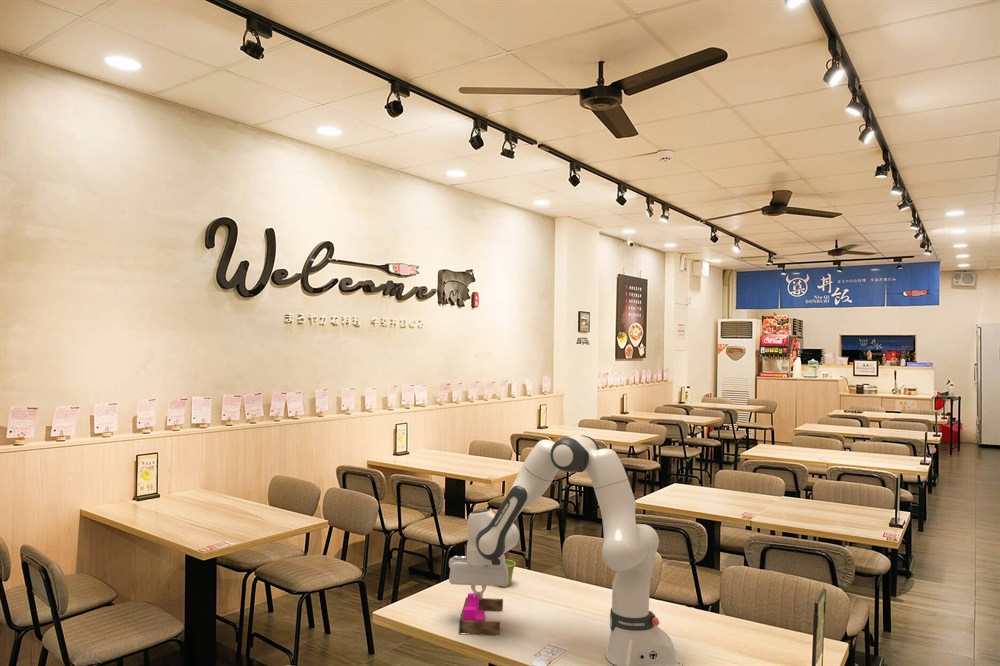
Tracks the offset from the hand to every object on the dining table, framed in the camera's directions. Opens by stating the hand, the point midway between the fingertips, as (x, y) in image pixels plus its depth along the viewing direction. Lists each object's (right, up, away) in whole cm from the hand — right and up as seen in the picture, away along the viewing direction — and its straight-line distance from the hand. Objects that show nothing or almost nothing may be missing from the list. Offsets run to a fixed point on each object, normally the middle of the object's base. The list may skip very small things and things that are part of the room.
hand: (478, 597), depth 227 cm
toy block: (-1, -8, -2) cm, 9 cm away
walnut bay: (+1, -8, 0) cm, 8 cm away
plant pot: (+9, -10, +36) cm, 39 cm away
